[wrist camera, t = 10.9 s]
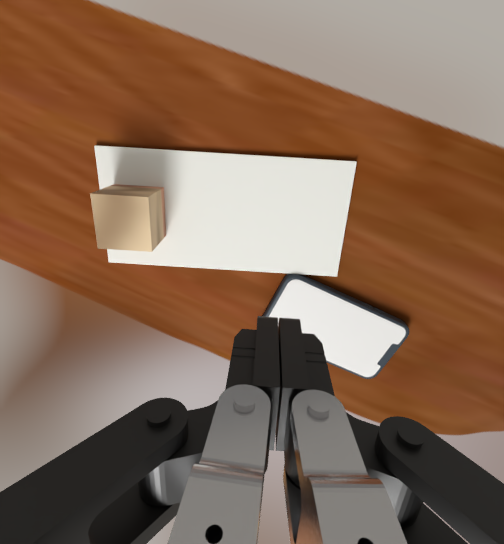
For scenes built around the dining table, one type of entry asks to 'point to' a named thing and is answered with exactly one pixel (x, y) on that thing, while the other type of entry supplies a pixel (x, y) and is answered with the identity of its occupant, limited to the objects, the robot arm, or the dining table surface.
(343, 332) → the phone case
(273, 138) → the dining table surface
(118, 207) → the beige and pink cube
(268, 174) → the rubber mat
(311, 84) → the dining table surface
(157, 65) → the dining table surface
